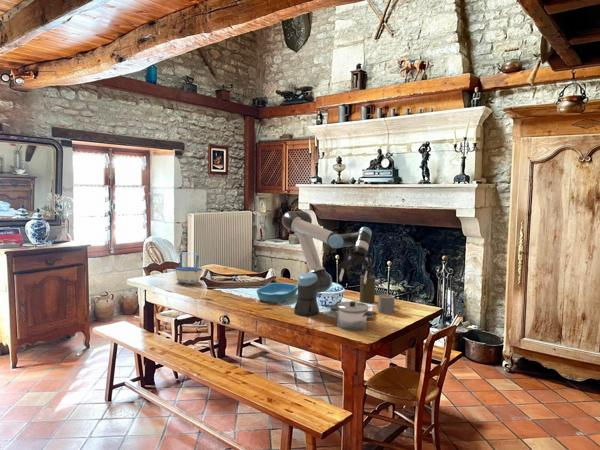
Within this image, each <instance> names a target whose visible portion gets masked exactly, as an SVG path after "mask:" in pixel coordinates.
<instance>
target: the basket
mask: <svg viewBox="0 0 600 450" xmlns="http://www.w3.org/2000/svg"><path fill="white" fill-rule="evenodd" d="M183 254H185V255H190V253H189V252H185V251H184V252H183V251H182V252H180V253H179V267H178V266H176V267H175V268H174V269H175V275H176V281H177V282H178V283H182V284H183V283H184V284H187V285H188V284H193V285H194V284H198V283H199V280H200V277H201V274H202V270H203V268H202V267H198V265H199V257H200V256H199V254H197V253H194V255H195V256H196V257H195V258H196V260H195V267H194V266H183Z"/></svg>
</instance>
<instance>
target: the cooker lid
mask: <svg viewBox="0 0 600 450" xmlns="http://www.w3.org/2000/svg"><path fill="white" fill-rule="evenodd" d="M336 306H337V308H338V309H339V310H341V311H345V312H355V313H357V312H365V311H367V310H368V306H369V305H368V304H367V303H362V302H360V301H359V302H358V301H353V300H352V301H341V302H337V304H336Z"/></svg>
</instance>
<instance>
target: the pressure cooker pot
mask: <svg viewBox="0 0 600 450" xmlns="http://www.w3.org/2000/svg"><path fill="white" fill-rule="evenodd" d="M330 311H332V312H337V311H338V314H336V315H337V317H336V319H337V320H336V326H337V328H338V329H341V330H345V331H349V332H350V331H351V332H353V331H354V332H358V331H364V330H365V329H367V323H368V322H367V320H368V318H367V316H372V317H373V316H374V315H375V310H372V311H365V312H357V313H355V312H345V311H341V310H339V309H338V308H337V305H333V306H332V307H330Z"/></svg>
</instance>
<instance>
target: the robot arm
mask: <svg viewBox="0 0 600 450" xmlns="http://www.w3.org/2000/svg"><path fill="white" fill-rule="evenodd" d="M281 223H282V226H283V227H284V228H285V229H286V230H289V231H291V232H294V235H296V236H297V238H298V241H299V244H300V246H301V251H302V254H303V256H304V259H305V262H306V266H307V268H308V272H304V273H301V274H299V276H298V277H297V279H298V280H297V286H298V289H297V296H296V297H297V300H296V302H295V305H294V308H293V309H294V310H293V313H294V314H296V315H298V316H302V317H303V316H304V317H305V316H306V317H307V316H308V317H312V316H317V315H319V314H320V308H319V304H318V302H317V300H318V299H317V297H318V296H317V294H319V293H324V292H326V291H328V290H329V289H330V288H331V287H332V285H333V278H332V275H331V274H330V273H328V272H327V270H326V268H325V267H323V266H322V263H321V260H320V257H319V255H318V254H319V253H318V251H317V249H316V248H317V247H316V245H315V242H314V240H313V239H315V240H318V241H320V242H323V243H325V244H328V245H329V246H330V247H331V249H340V248H347V247H354V248H353V251H352V255H349V254H346V256H345V257H344V259H343V260H342V261H341V262H340V263H339V264H337V270H339V271H338V274H339V277H338V278H339V282H342V281H343V276H344V273H345V270H346V269H348V268H349V267H351V266H353V265H359V266H360V265H361V266H363V268H364V270H365V274H364V275H365V277H364V284H366V281H367V278H369V276H370V275H371V274H374V272H375V271H374V267H373V265H372V259H371V256H368V257H367V254H368V250H369V247H370V242H371V239H372V235H373V234H372V233H373V232H372V230H371V229H370V228H369V227H367V226H361V228H360V229H359V230H358V231H357V232H349V233H340V234H339V233H336V232H334V231H332V230H328V229H326V228H324V227H321V226H319V225H316V224H314V223H313V218H312V216H311V214H310V213H308V212H307V211H304V210H294V211H293V210H291V211H287V212H285V213H284V214H283V215H282V218H281ZM366 262H367V263H368V265H367V264H366ZM370 273H371V274H370Z"/></svg>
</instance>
